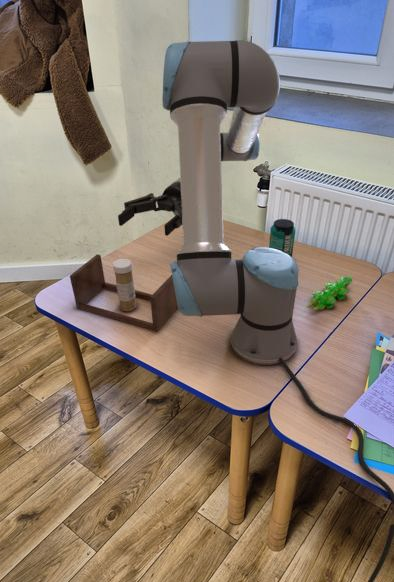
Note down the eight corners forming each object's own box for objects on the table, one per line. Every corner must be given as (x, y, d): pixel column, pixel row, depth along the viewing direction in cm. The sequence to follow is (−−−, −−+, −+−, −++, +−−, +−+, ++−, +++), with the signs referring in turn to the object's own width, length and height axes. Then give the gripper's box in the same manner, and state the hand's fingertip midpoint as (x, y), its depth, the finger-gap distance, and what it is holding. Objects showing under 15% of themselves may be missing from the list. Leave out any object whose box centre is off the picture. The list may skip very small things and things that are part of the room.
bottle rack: (157, 331, 115) (154, 298, 109) (76, 308, 123) (69, 275, 117) (179, 306, 123) (178, 273, 117) (102, 285, 131) (96, 254, 125)
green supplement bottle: (291, 255, 143) (296, 218, 135) (291, 267, 138) (296, 229, 130) (268, 254, 144) (271, 217, 136) (267, 265, 138) (270, 228, 131)
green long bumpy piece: (358, 290, 127) (361, 277, 125) (319, 318, 118) (322, 304, 115) (337, 281, 131) (340, 268, 128) (298, 308, 122) (300, 294, 119)
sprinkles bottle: (130, 300, 126) (124, 255, 117) (140, 307, 123) (135, 262, 114) (116, 306, 124) (109, 261, 115) (125, 314, 121) (119, 269, 112)
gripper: (220, 214, 131) (186, 248, 117) (143, 200, 140) (103, 230, 125) (220, 188, 126) (185, 220, 112) (141, 175, 135) (99, 203, 120)
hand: (142, 225), depth 119 cm, fingers open, 13 cm apart
